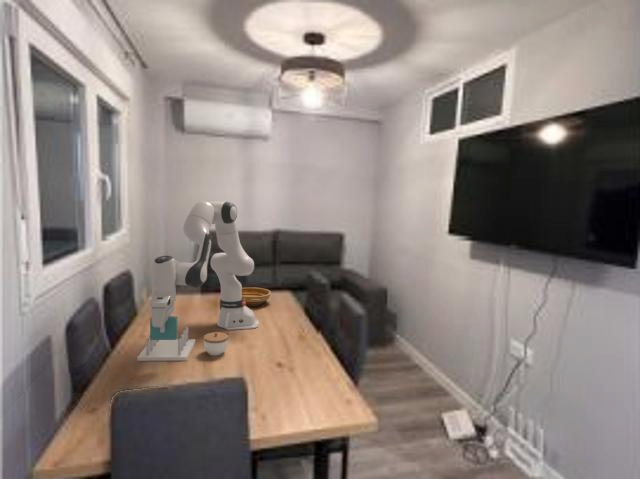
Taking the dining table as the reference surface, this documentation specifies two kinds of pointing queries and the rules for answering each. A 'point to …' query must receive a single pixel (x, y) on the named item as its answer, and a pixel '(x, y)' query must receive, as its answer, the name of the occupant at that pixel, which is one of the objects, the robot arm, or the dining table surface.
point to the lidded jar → (215, 343)
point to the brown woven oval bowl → (255, 295)
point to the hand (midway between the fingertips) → (164, 330)
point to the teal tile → (170, 331)
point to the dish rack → (167, 349)
